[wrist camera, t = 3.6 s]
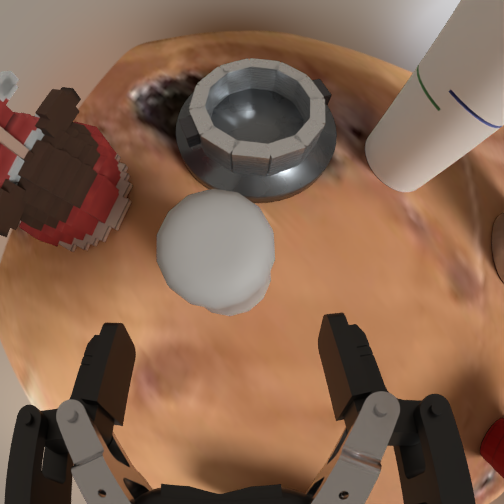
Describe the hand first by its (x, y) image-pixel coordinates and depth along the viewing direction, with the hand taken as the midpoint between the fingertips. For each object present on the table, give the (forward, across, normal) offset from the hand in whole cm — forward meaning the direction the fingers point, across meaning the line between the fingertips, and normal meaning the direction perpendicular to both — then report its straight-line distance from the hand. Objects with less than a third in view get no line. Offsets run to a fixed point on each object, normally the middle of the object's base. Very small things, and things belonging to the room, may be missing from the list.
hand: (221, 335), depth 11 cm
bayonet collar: (+19, -3, -4) cm, 19 cm away
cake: (+15, +13, 0) cm, 20 cm away
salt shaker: (+10, 0, +5) cm, 11 cm away
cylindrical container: (+17, -17, -2) cm, 24 cm away
